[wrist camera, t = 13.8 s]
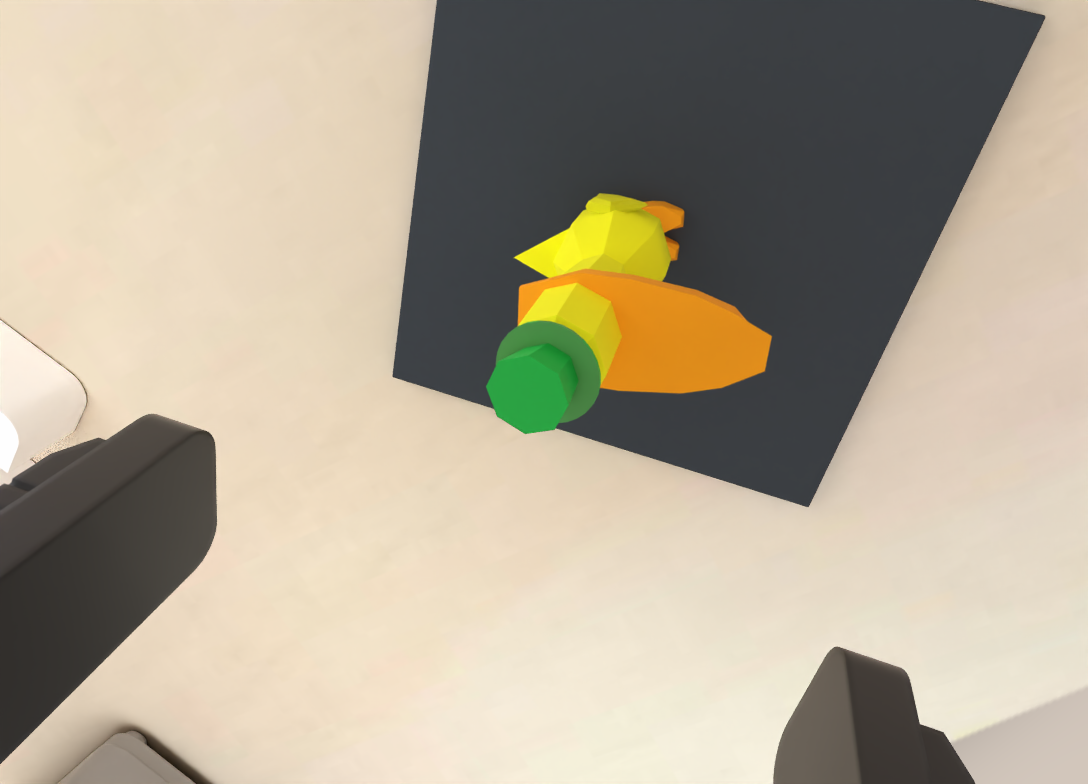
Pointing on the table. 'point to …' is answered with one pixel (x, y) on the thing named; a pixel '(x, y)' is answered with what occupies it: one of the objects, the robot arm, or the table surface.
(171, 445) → the robot arm
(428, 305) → the mat
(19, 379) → the slotted white bracket
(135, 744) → the projector
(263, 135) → the table surface
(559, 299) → the toy figure
